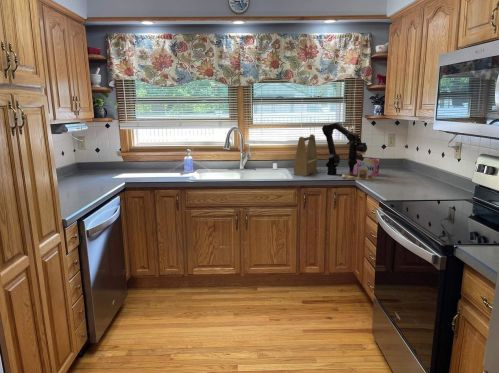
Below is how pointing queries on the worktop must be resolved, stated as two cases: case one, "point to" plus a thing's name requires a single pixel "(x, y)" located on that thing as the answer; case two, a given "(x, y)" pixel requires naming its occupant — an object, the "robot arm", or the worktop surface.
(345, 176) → the board
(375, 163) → the gum box
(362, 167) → the tunnel
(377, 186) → the worktop surface
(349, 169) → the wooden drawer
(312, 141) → the caddy
